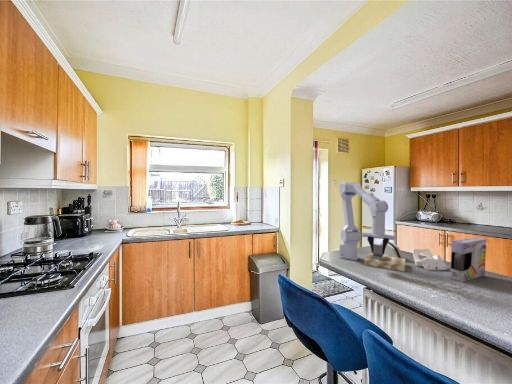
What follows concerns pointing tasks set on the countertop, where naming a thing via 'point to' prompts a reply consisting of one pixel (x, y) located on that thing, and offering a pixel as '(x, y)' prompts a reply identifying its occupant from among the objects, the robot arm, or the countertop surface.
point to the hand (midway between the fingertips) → (378, 253)
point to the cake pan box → (468, 258)
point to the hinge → (392, 250)
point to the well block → (386, 262)
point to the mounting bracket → (428, 260)
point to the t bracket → (377, 251)
